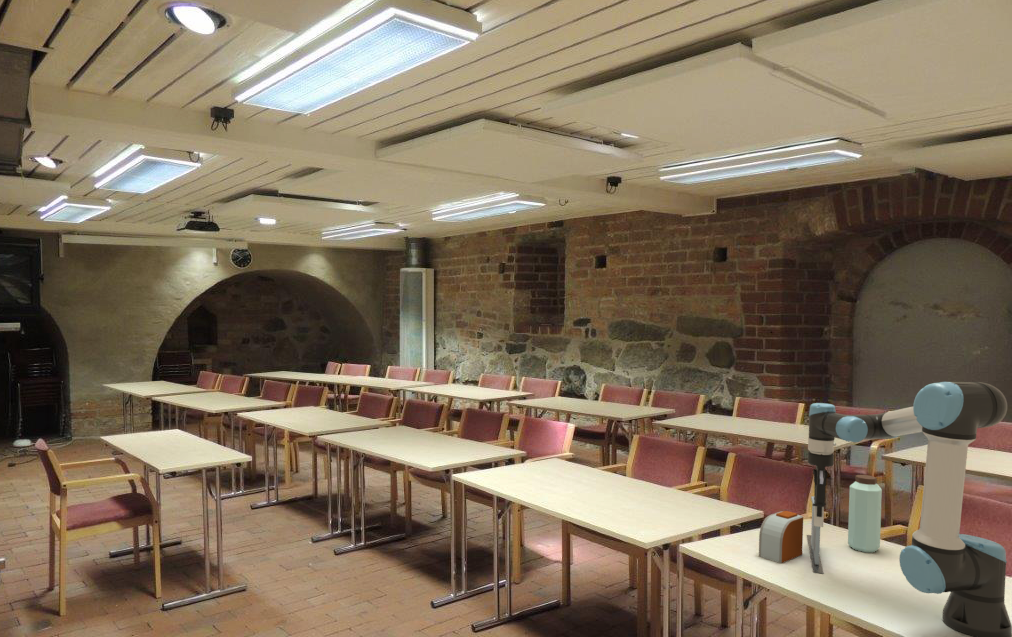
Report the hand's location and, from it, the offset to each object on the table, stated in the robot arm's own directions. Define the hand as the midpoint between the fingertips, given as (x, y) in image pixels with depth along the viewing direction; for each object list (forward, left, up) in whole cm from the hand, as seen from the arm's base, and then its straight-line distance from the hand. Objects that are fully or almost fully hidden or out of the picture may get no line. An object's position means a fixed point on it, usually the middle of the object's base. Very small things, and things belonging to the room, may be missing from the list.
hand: (818, 525), depth 223 cm
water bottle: (+27, -17, -14) cm, 35 cm away
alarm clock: (+8, +10, -14) cm, 19 cm away
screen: (+13, 0, -14) cm, 19 cm away
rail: (+15, 0, -14) cm, 20 cm away
